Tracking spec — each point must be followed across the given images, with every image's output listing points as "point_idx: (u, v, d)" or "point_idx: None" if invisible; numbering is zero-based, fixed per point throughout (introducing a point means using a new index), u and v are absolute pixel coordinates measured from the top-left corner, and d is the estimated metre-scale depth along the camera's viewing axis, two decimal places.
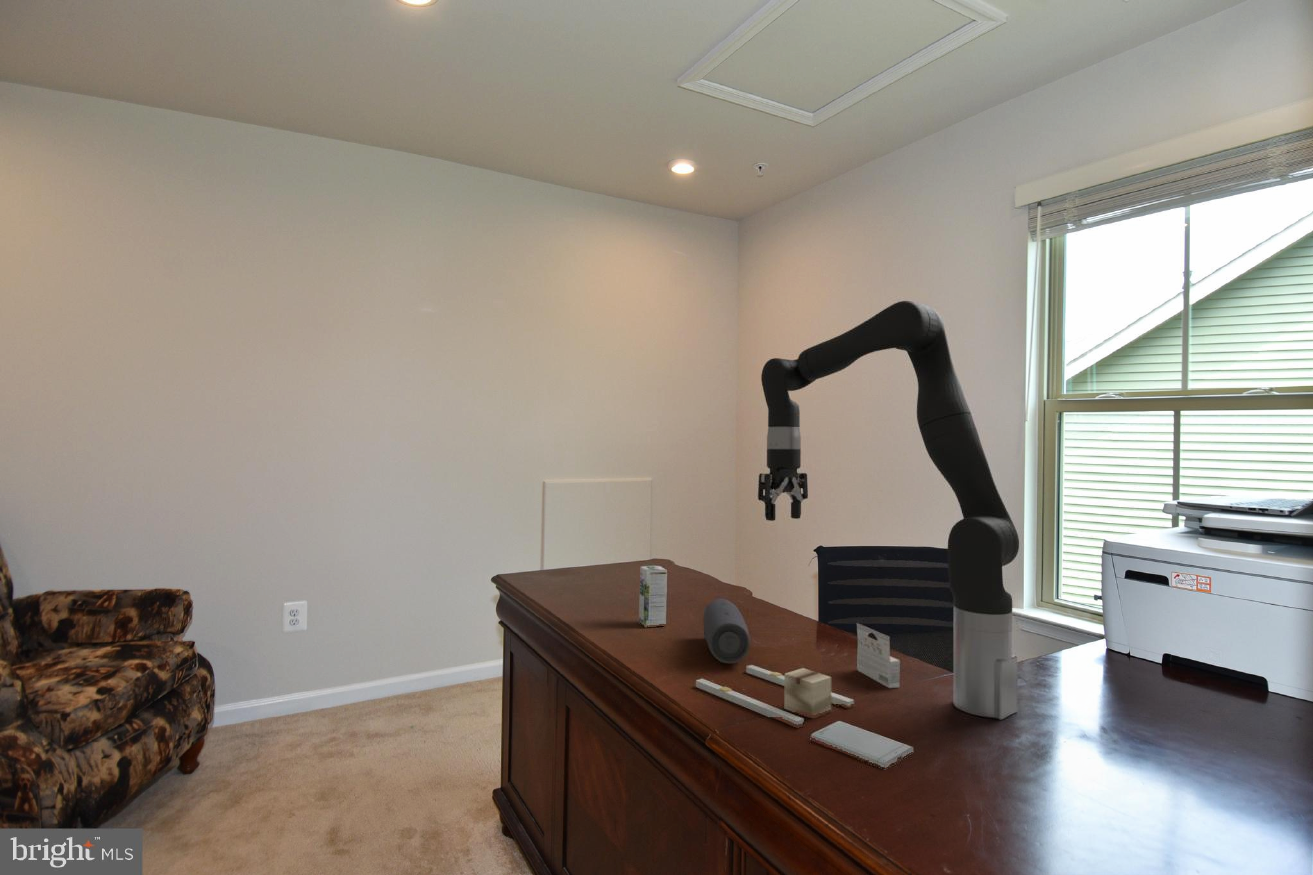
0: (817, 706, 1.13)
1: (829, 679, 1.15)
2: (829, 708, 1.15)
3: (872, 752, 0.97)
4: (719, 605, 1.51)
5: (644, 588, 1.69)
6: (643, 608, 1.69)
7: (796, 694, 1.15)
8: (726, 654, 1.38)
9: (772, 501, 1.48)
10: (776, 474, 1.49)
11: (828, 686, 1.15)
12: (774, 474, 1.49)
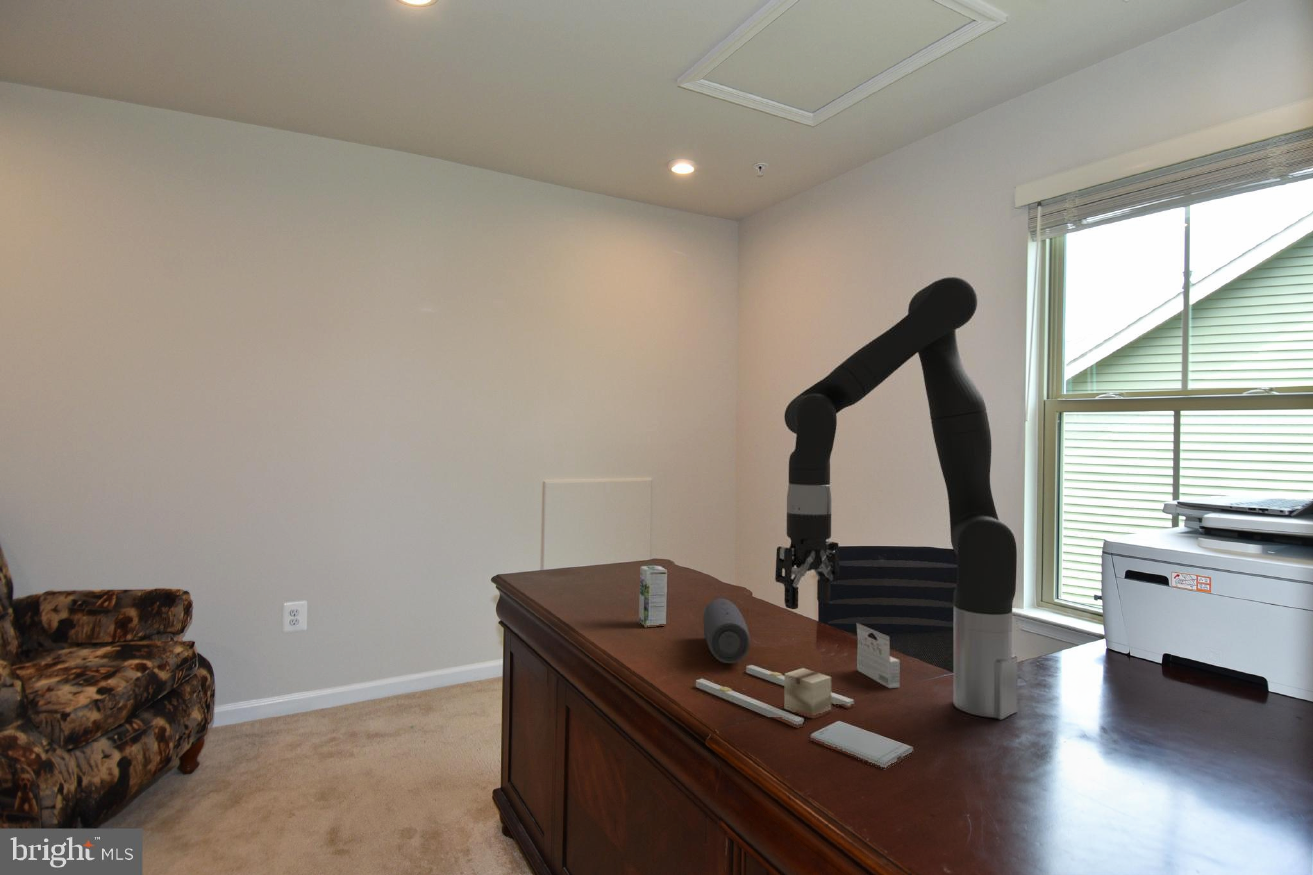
0: (816, 706, 1.13)
1: (829, 679, 1.15)
2: (829, 708, 1.15)
3: (872, 752, 0.97)
4: (719, 605, 1.51)
5: (644, 588, 1.69)
6: (643, 608, 1.69)
7: (796, 694, 1.15)
8: (726, 654, 1.38)
9: (794, 584, 1.12)
10: (799, 547, 1.13)
11: (828, 686, 1.15)
12: (797, 547, 1.13)
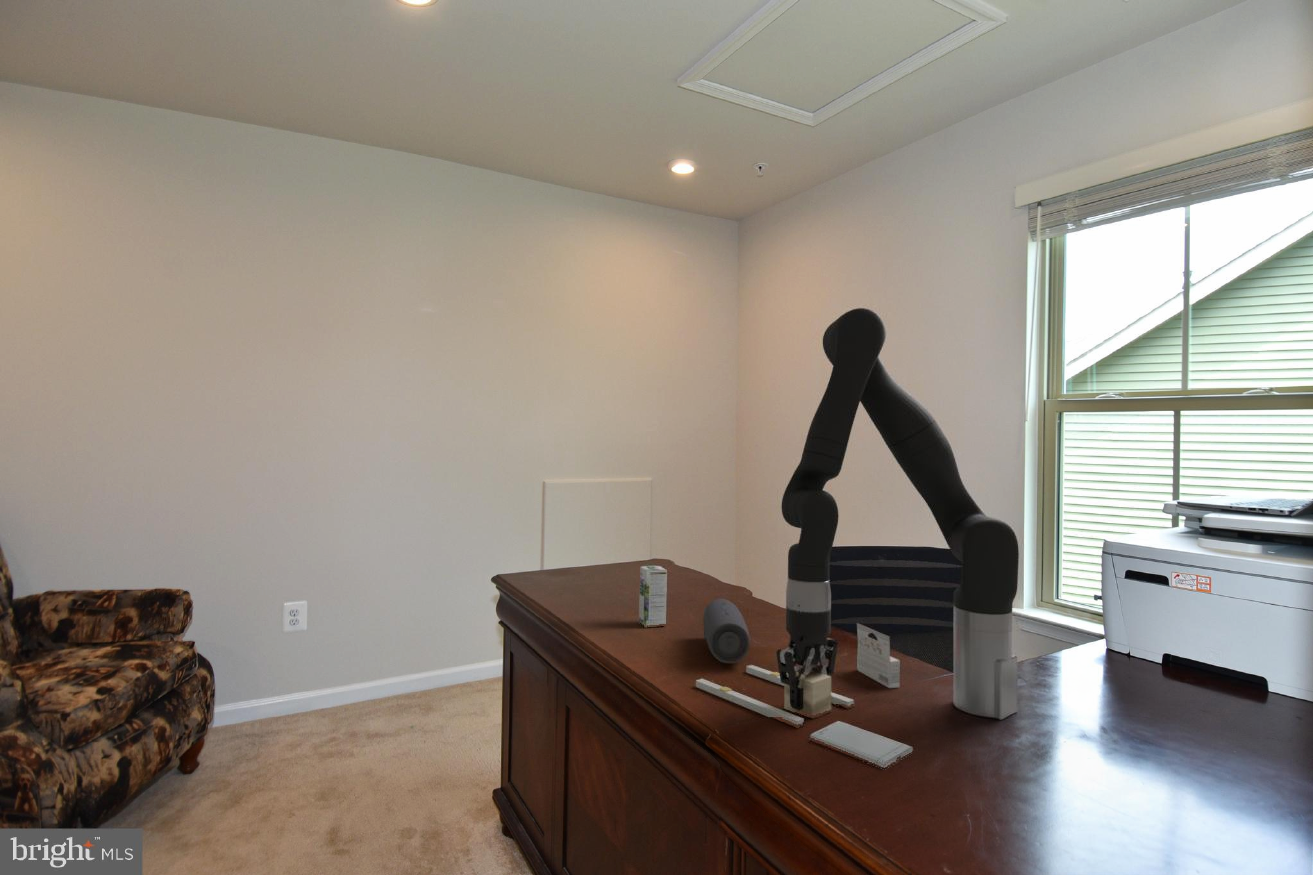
0: (816, 705, 1.13)
1: (829, 679, 1.15)
2: (829, 708, 1.15)
3: (872, 752, 0.97)
4: (719, 605, 1.51)
5: (644, 588, 1.69)
6: (643, 608, 1.69)
7: None
8: (726, 654, 1.38)
9: (800, 686, 1.13)
10: (798, 646, 1.13)
11: (828, 686, 1.15)
12: (796, 647, 1.13)
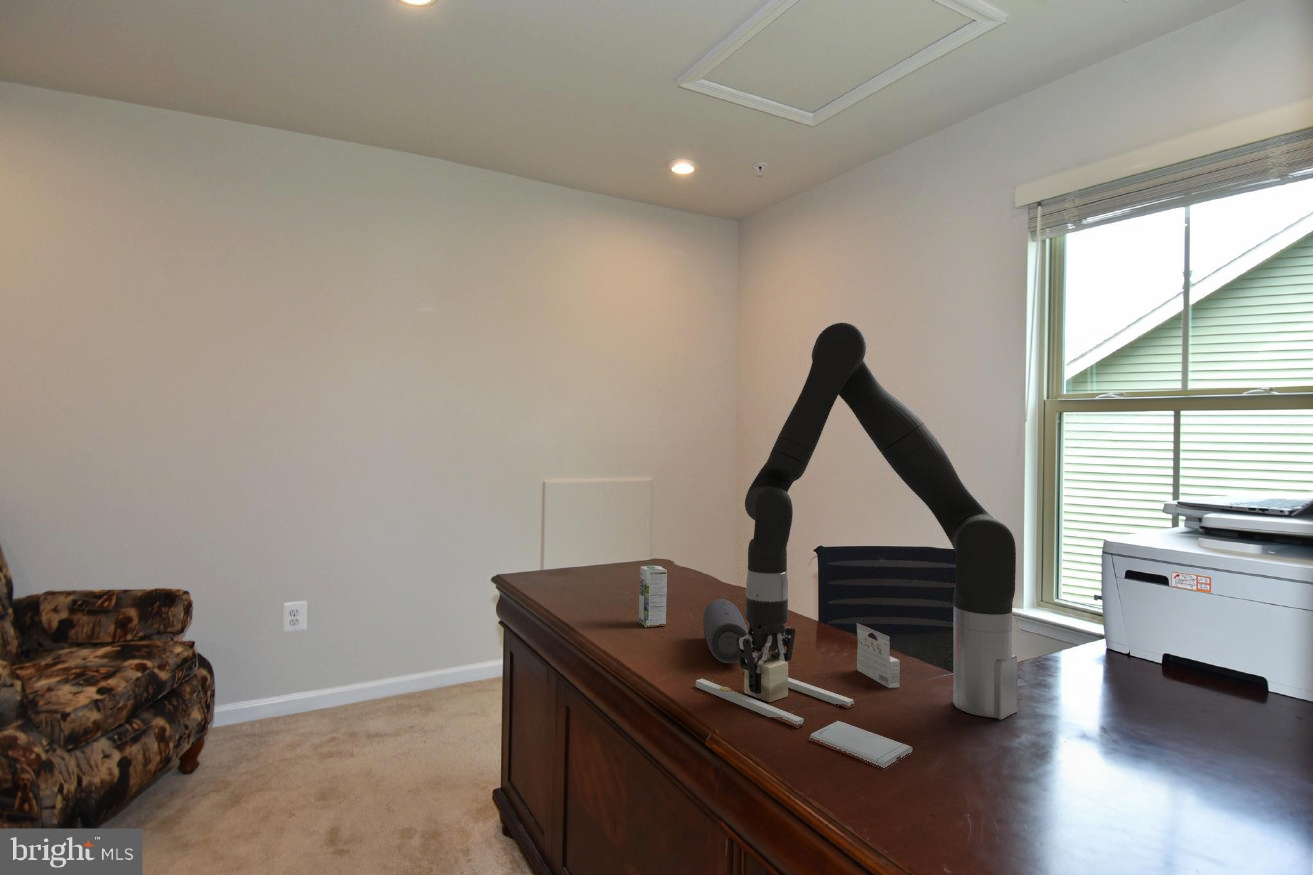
0: (774, 689, 1.20)
1: (786, 664, 1.22)
2: (786, 692, 1.22)
3: (871, 752, 0.97)
4: (719, 605, 1.51)
5: (644, 588, 1.69)
6: (643, 608, 1.69)
7: None
8: (726, 654, 1.38)
9: (758, 671, 1.20)
10: (756, 633, 1.20)
11: (785, 671, 1.22)
12: (754, 634, 1.20)
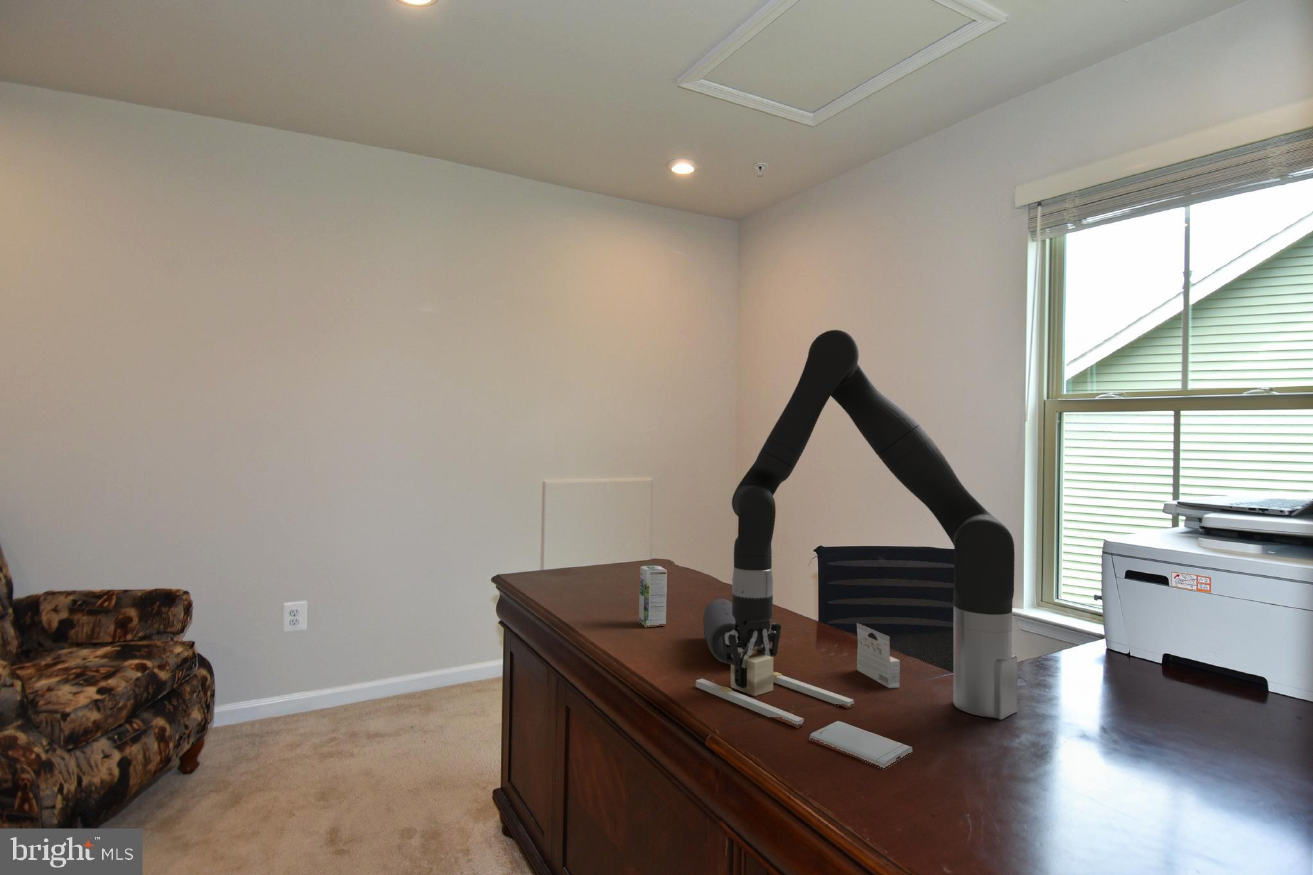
0: (759, 683, 1.23)
1: (771, 659, 1.25)
2: (771, 686, 1.25)
3: (871, 752, 0.97)
4: (719, 605, 1.51)
5: (644, 588, 1.69)
6: (643, 608, 1.69)
7: None
8: None
9: (743, 666, 1.23)
10: (742, 629, 1.23)
11: (770, 666, 1.25)
12: (739, 630, 1.23)
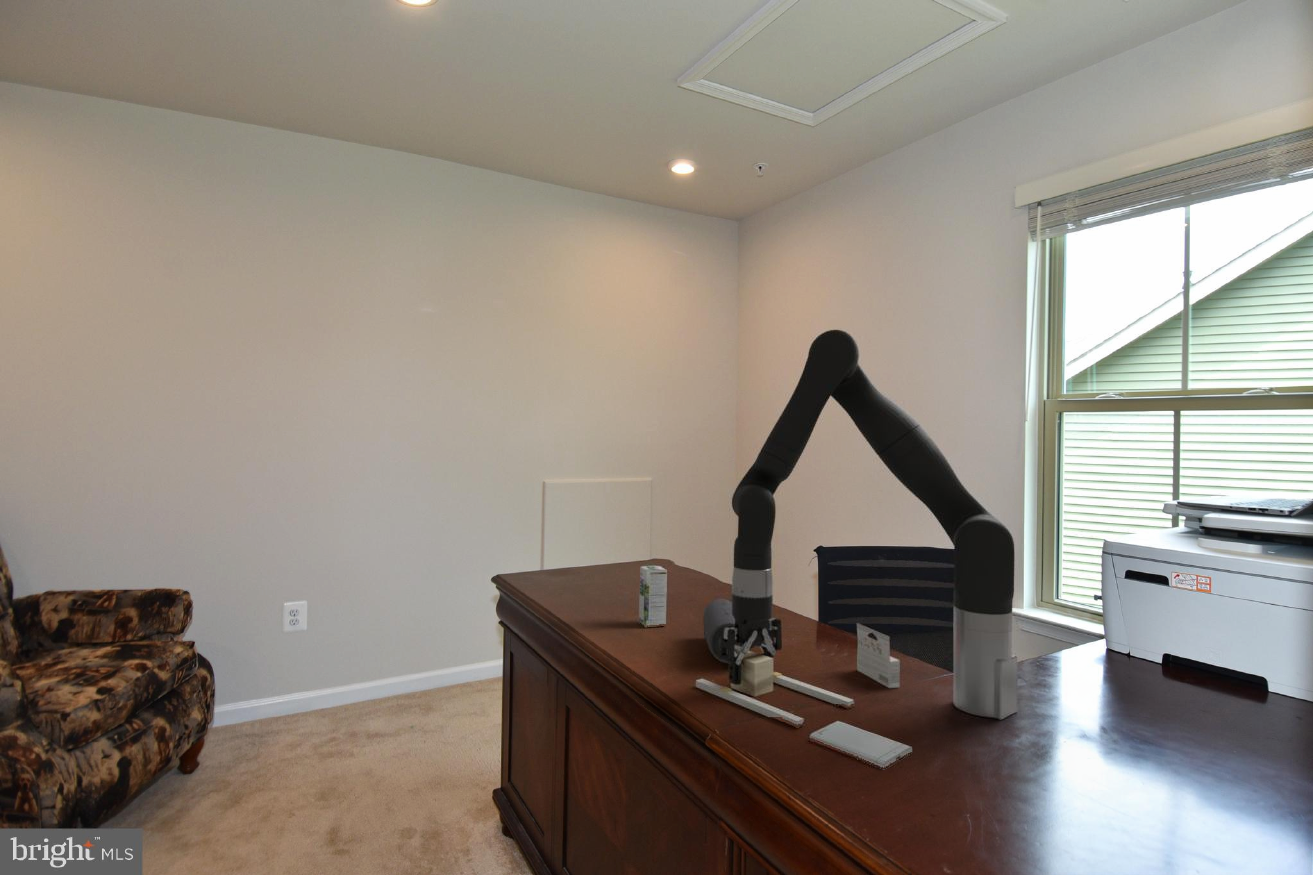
0: (759, 684, 1.23)
1: (771, 660, 1.25)
2: (771, 687, 1.25)
3: (871, 752, 0.97)
4: (719, 605, 1.51)
5: (644, 588, 1.69)
6: (643, 608, 1.69)
7: (741, 673, 1.25)
8: None
9: (737, 662, 1.22)
10: (742, 628, 1.23)
11: (770, 666, 1.25)
12: (740, 628, 1.23)
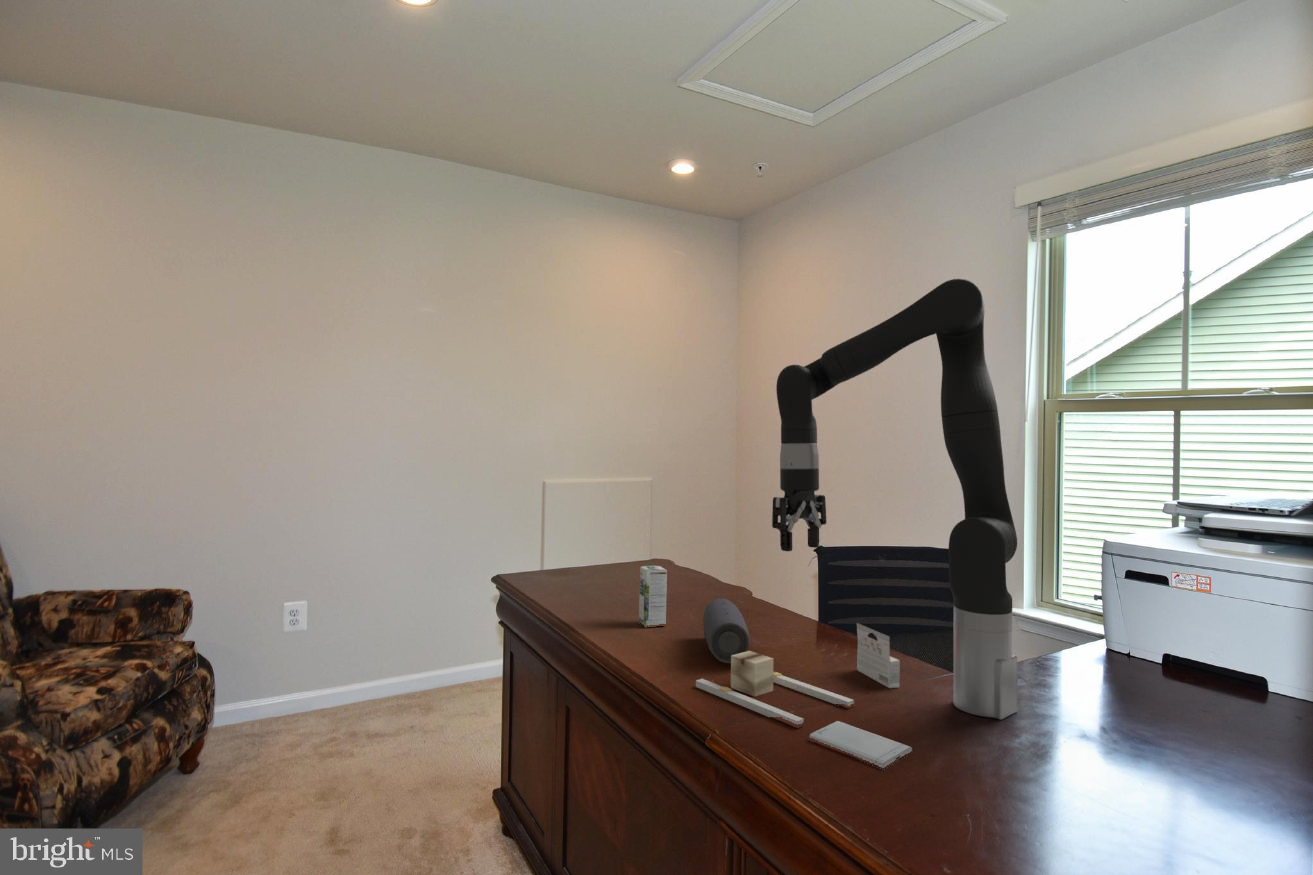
0: (759, 684, 1.23)
1: (771, 660, 1.25)
2: (771, 687, 1.25)
3: (871, 752, 0.97)
4: (719, 605, 1.51)
5: (644, 588, 1.69)
6: (643, 608, 1.69)
7: (741, 673, 1.25)
8: (726, 654, 1.38)
9: (789, 529, 1.29)
10: (792, 498, 1.31)
11: (770, 667, 1.25)
12: (790, 498, 1.31)
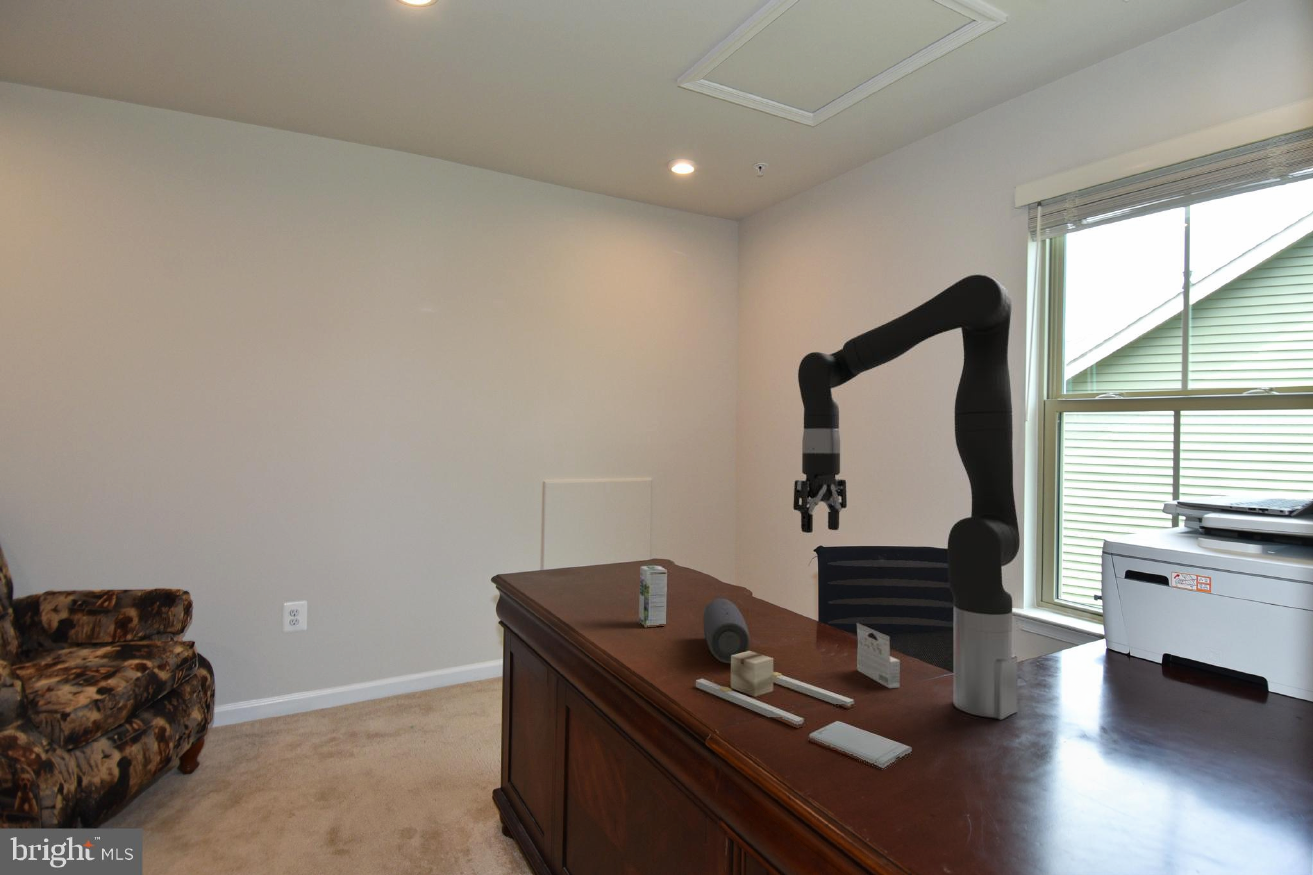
0: (759, 684, 1.23)
1: (771, 660, 1.25)
2: (771, 687, 1.25)
3: (870, 752, 0.97)
4: (719, 605, 1.51)
5: (644, 588, 1.69)
6: (643, 608, 1.69)
7: (740, 673, 1.25)
8: (726, 654, 1.38)
9: (809, 511, 1.34)
10: (813, 481, 1.35)
11: (770, 666, 1.25)
12: (811, 481, 1.35)
